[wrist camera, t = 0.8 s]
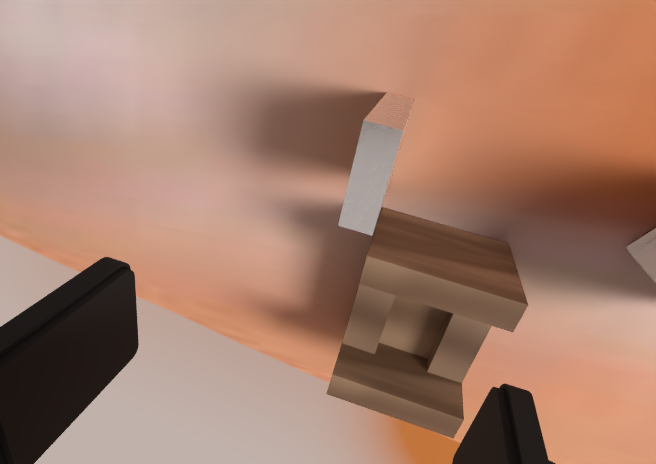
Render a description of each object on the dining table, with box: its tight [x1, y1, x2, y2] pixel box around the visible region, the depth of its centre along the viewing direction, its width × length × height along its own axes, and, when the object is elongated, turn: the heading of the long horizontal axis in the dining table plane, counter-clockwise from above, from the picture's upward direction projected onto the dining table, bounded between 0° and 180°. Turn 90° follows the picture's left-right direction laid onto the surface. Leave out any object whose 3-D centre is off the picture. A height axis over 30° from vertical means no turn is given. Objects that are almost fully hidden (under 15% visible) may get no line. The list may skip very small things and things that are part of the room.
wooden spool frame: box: [327, 208, 528, 438], centre depth 32 cm, size 13×10×8 cm
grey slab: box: [338, 93, 414, 236], centre depth 26 cm, size 6×2×10 cm, turn 169°
